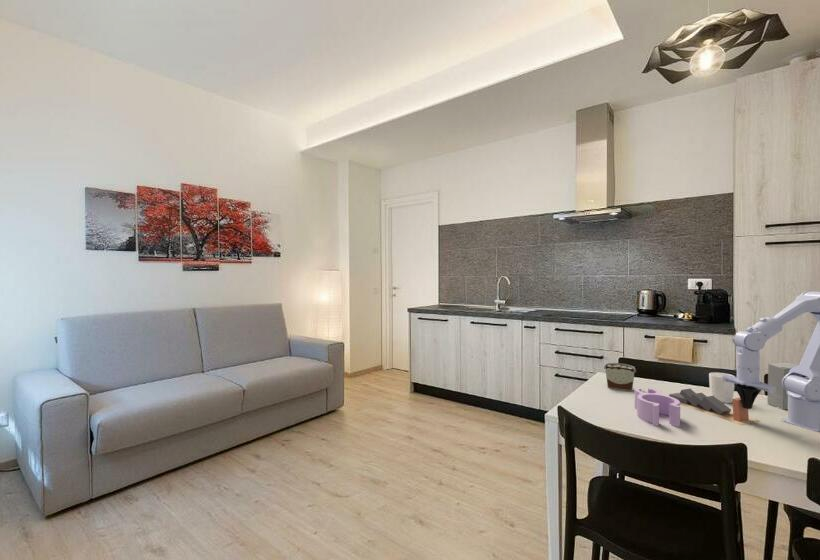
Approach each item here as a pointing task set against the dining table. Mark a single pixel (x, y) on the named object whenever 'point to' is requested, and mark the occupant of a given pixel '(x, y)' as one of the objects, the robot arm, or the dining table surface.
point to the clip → (656, 406)
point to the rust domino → (739, 410)
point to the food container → (620, 375)
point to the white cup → (721, 387)
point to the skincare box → (778, 383)
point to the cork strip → (725, 416)
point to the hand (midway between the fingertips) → (747, 408)
